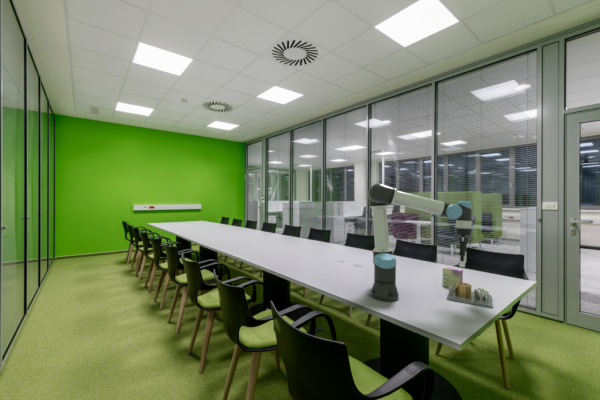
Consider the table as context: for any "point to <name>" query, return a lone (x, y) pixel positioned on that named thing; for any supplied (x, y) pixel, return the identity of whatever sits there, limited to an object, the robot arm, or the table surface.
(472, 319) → the table surface
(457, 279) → the box
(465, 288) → the gear
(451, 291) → the carrier
